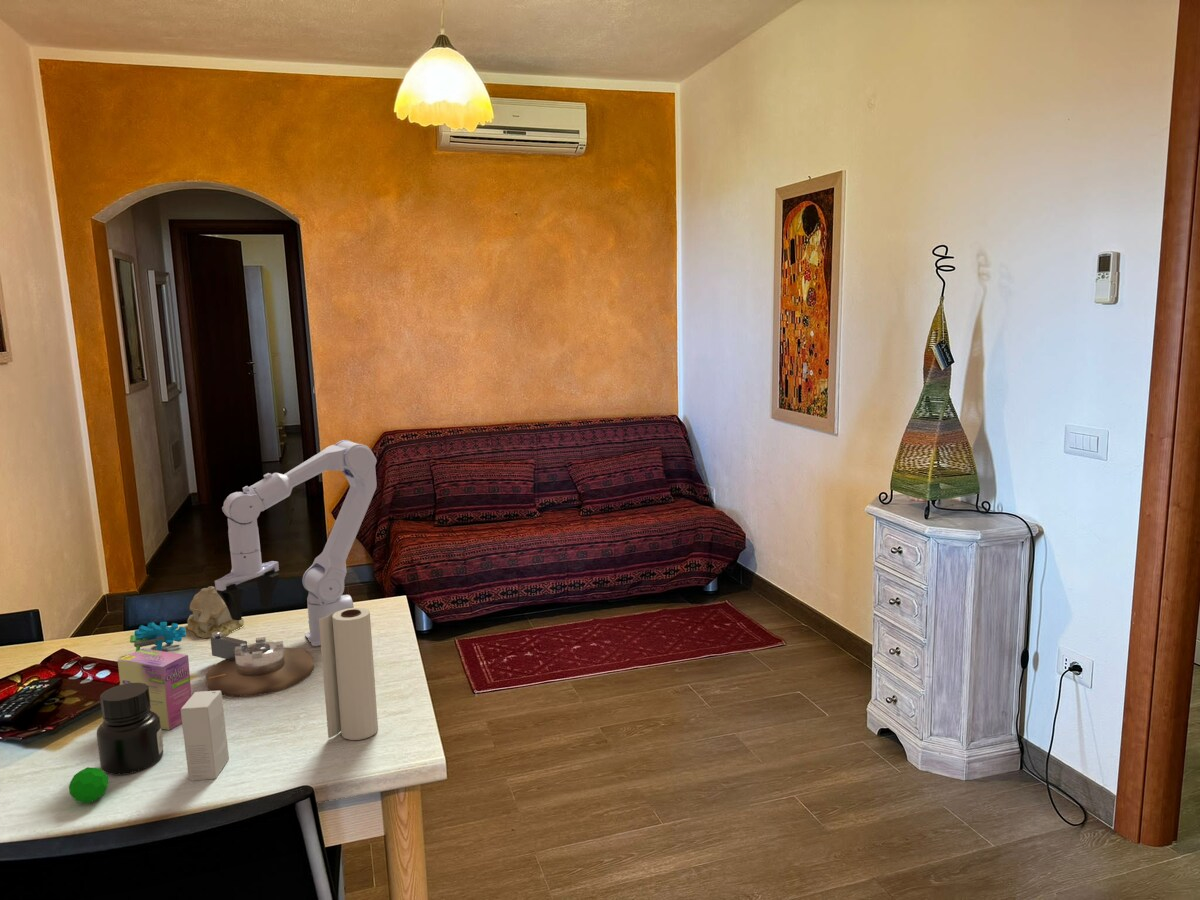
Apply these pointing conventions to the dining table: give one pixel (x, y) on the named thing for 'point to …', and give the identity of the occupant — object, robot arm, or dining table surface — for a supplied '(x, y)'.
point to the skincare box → (204, 735)
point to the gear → (157, 635)
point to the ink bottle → (128, 730)
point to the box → (160, 681)
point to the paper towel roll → (349, 673)
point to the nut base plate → (237, 684)
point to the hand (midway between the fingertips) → (251, 613)
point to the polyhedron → (88, 785)
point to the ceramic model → (211, 614)
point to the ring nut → (249, 654)
